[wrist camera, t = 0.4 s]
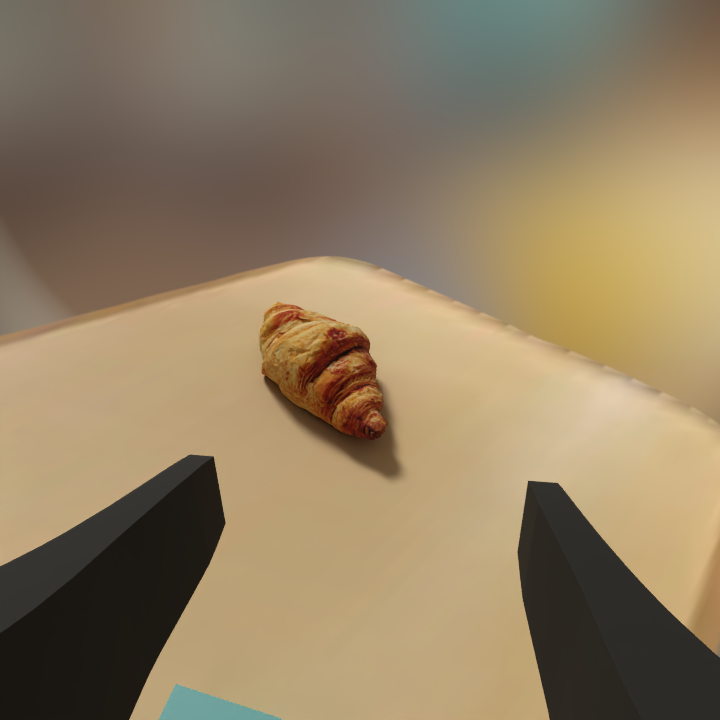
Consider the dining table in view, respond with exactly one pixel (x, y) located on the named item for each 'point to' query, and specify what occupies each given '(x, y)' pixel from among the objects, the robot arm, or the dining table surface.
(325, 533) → the dining table surface
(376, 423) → the croissant
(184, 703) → the teal block
